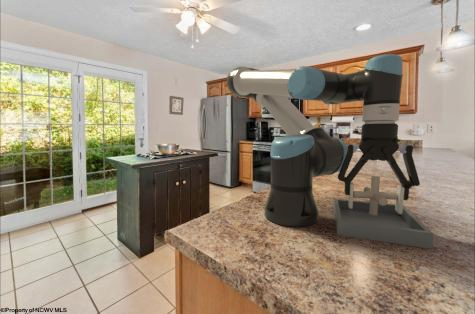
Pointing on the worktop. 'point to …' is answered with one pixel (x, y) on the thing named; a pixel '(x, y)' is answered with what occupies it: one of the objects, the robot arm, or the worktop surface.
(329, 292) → the worktop surface
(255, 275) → the worktop surface
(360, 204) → the tray
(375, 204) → the pipe connector
